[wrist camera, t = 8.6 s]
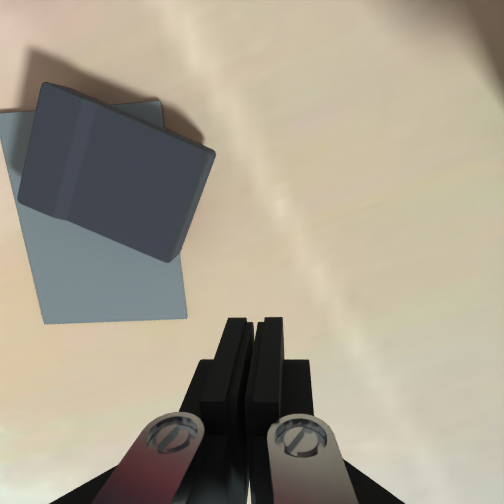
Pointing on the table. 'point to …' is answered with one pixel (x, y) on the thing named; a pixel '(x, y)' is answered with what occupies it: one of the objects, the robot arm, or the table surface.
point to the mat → (89, 252)
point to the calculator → (112, 172)
